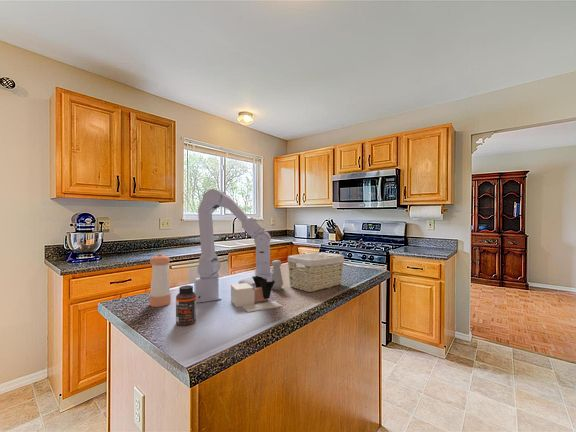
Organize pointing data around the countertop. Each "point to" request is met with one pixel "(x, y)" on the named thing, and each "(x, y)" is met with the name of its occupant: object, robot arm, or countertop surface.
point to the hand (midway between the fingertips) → (263, 296)
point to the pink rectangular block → (259, 294)
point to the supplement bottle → (185, 306)
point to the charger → (248, 281)
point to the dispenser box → (242, 294)
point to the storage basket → (315, 270)
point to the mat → (261, 306)
